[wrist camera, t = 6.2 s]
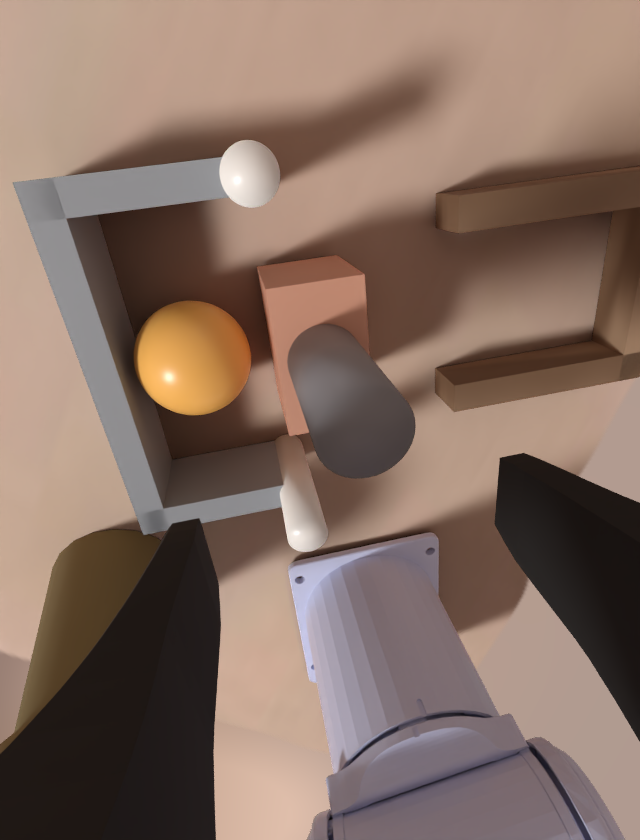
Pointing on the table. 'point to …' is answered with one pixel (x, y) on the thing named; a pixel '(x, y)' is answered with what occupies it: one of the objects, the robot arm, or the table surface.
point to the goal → (114, 340)
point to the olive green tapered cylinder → (80, 609)
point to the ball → (192, 357)
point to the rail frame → (618, 298)
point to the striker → (332, 367)
